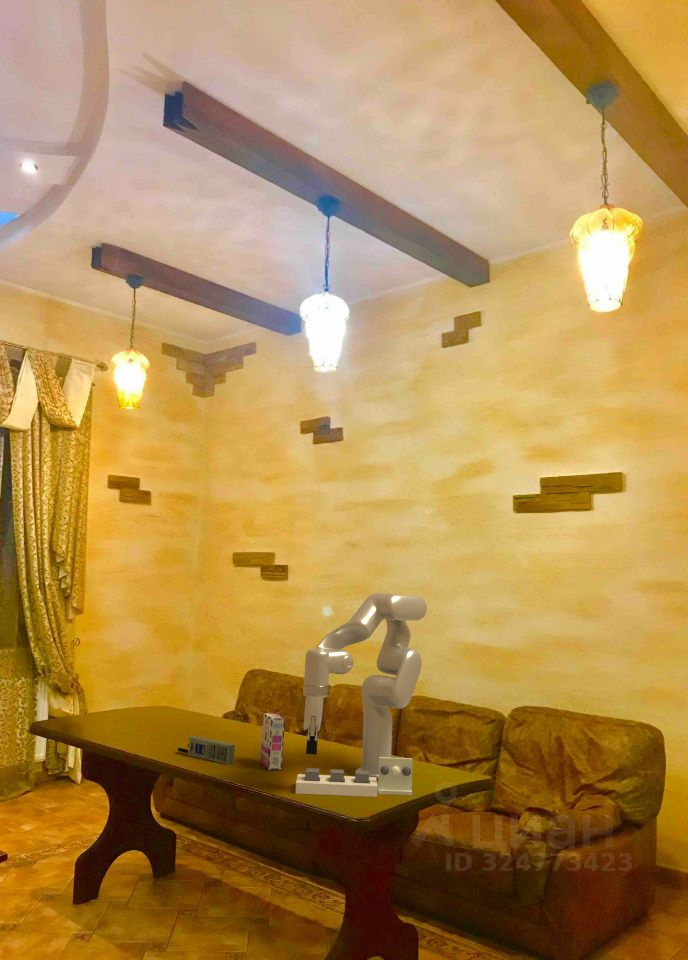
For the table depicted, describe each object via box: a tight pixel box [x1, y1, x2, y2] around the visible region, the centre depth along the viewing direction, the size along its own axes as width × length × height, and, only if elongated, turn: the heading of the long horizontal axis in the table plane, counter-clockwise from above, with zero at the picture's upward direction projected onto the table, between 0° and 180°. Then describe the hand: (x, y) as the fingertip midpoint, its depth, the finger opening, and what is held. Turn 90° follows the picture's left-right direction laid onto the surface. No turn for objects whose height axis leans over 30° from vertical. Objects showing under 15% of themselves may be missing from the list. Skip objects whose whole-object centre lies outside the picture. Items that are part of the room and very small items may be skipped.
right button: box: [354, 769, 369, 783], centre depth 215 cm, size 4×4×3 cm
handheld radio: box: [177, 735, 236, 766], centre depth 248 cm, size 7×3×25 cm
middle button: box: [330, 768, 345, 782], centre depth 215 cm, size 4×4×3 cm
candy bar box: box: [259, 712, 286, 771], centre depth 242 cm, size 11×5×16 cm, turn 21°
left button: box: [304, 767, 320, 781], centre depth 215 cm, size 4×4×3 cm
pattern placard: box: [377, 756, 413, 796], centre depth 216 cm, size 10×4×10 cm, turn 90°
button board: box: [295, 773, 378, 798], centre depth 215 cm, size 24×10×3 cm, turn 90°
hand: (311, 753), depth 216 cm, fingers closed
